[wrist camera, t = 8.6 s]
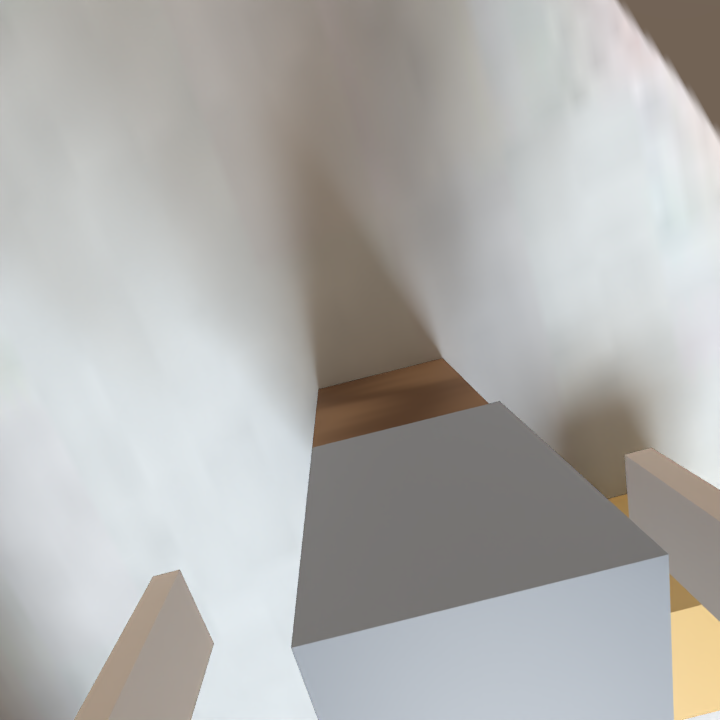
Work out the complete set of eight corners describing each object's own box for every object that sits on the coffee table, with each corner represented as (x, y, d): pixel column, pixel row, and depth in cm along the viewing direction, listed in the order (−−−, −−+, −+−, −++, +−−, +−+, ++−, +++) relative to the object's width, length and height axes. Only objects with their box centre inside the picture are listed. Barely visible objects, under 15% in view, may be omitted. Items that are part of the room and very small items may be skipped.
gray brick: (357, 597, 13) (376, 875, 7) (312, 447, 11) (291, 648, 6) (523, 556, 13) (676, 802, 7) (499, 401, 11) (669, 554, 6)
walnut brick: (349, 496, 19) (356, 605, 13) (318, 389, 17) (311, 458, 12) (463, 468, 19) (521, 564, 13) (442, 357, 17) (497, 412, 12)
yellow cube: (565, 598, 21) (651, 727, 16) (553, 511, 20) (644, 619, 14) (666, 572, 21) (790, 692, 16) (662, 483, 20) (797, 580, 14)
